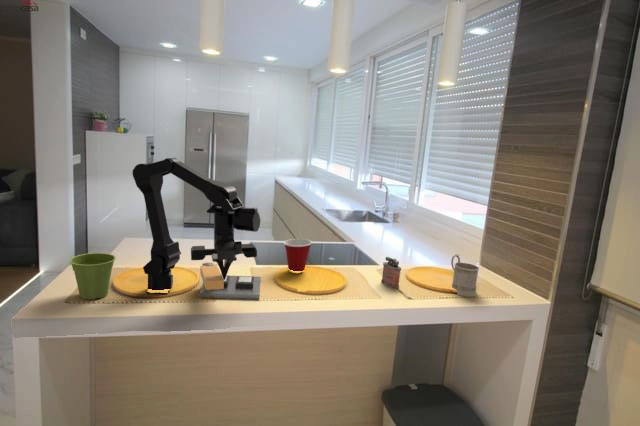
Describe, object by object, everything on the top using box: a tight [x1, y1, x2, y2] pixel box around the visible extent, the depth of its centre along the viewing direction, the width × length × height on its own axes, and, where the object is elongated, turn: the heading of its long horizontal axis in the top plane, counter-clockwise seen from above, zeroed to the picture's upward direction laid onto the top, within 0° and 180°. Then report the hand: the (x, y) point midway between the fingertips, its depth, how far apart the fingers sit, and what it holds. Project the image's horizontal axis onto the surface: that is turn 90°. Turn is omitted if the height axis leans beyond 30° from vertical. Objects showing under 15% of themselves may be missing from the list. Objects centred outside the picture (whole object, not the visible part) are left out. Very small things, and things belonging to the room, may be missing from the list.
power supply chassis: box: [199, 274, 262, 300], centre depth 136 cm, size 18×17×5 cm
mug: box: [450, 253, 480, 298], centre depth 153 cm, size 14×10×12 cm
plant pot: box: [68, 252, 117, 301], centre depth 121 cm, size 12×12×11 cm
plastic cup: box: [283, 238, 313, 271], centre depth 158 cm, size 11×11×12 cm
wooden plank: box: [199, 262, 224, 290], centre depth 128 cm, size 18×5×2 cm, turn 22°
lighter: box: [380, 256, 402, 290], centre depth 152 cm, size 8×3×10 cm, turn 34°
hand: (224, 279), depth 125 cm, fingers closed
